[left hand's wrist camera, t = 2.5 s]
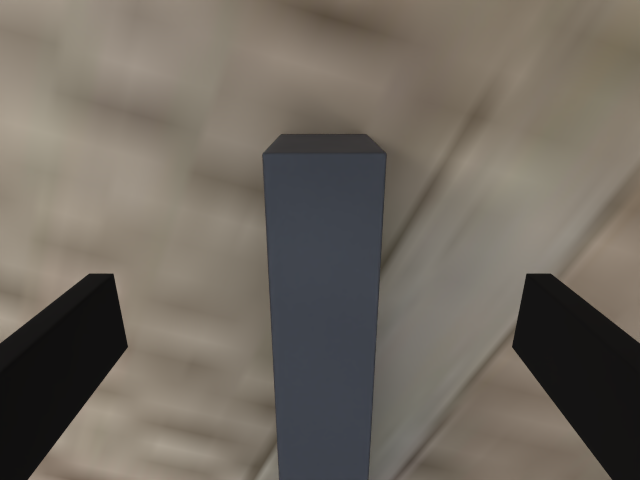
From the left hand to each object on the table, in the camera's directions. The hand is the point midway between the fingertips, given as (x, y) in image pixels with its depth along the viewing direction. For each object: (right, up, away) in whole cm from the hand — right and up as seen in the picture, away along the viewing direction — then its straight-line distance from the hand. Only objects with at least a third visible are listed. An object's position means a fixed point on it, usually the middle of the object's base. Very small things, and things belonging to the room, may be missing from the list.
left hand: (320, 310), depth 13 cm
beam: (0, -18, +20) cm, 27 cm away
